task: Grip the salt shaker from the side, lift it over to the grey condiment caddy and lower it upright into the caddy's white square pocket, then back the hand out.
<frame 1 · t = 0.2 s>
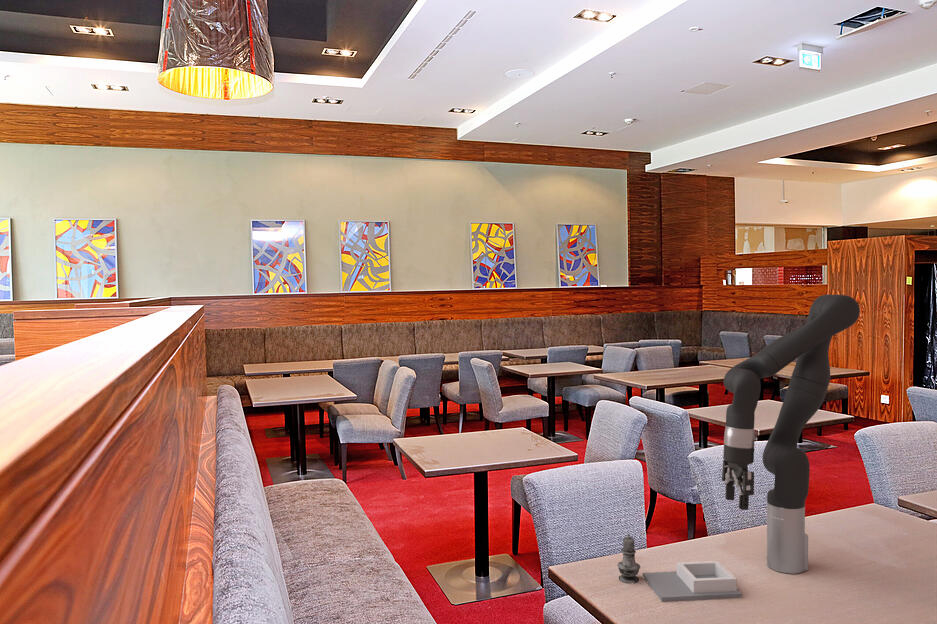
hand: (736, 504, 180), 18 cm above the table, tool pointing down, fingers open, 8 cm apart
caddy: (690, 586, 171), on the table
salt shaker: (628, 579, 176), on the table
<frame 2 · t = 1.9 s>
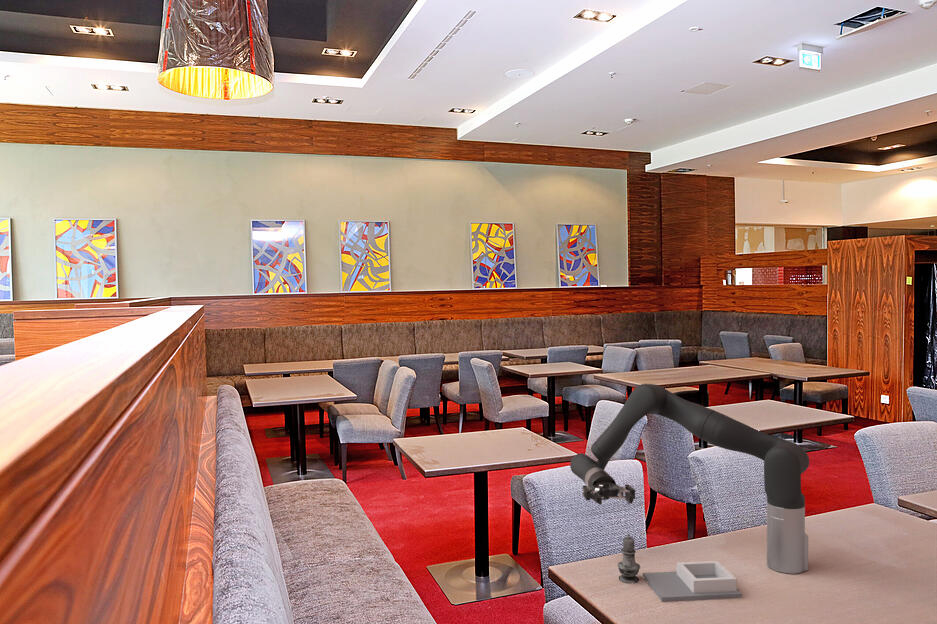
hand: (615, 500, 186), 17 cm above the table, tool horizontal, fingers open, 8 cm apart
nothing on the table moved.
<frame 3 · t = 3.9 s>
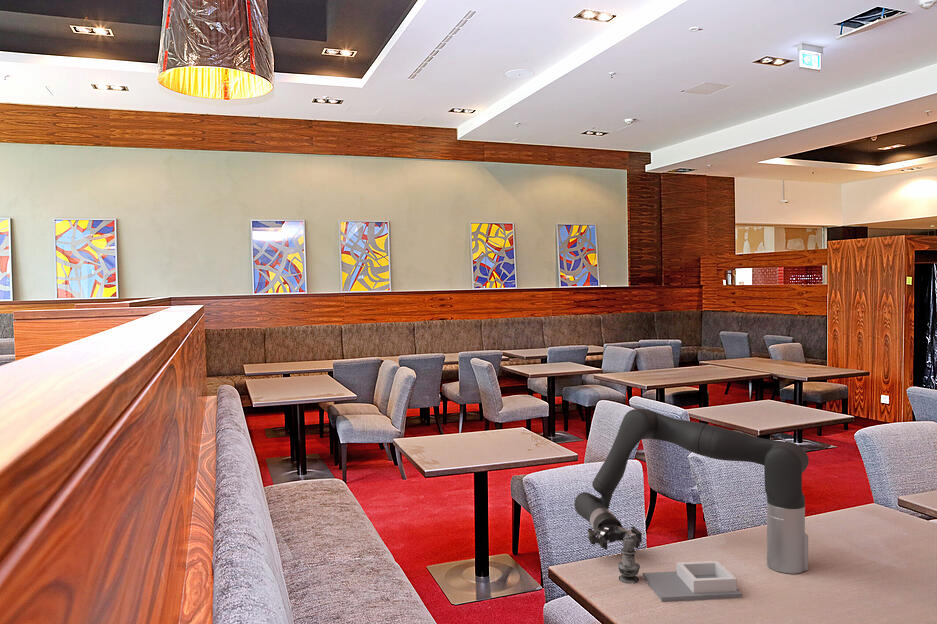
hand: (621, 545, 182), 6 cm above the table, tool horizontal, fingers open, 8 cm apart
nothing on the table moved.
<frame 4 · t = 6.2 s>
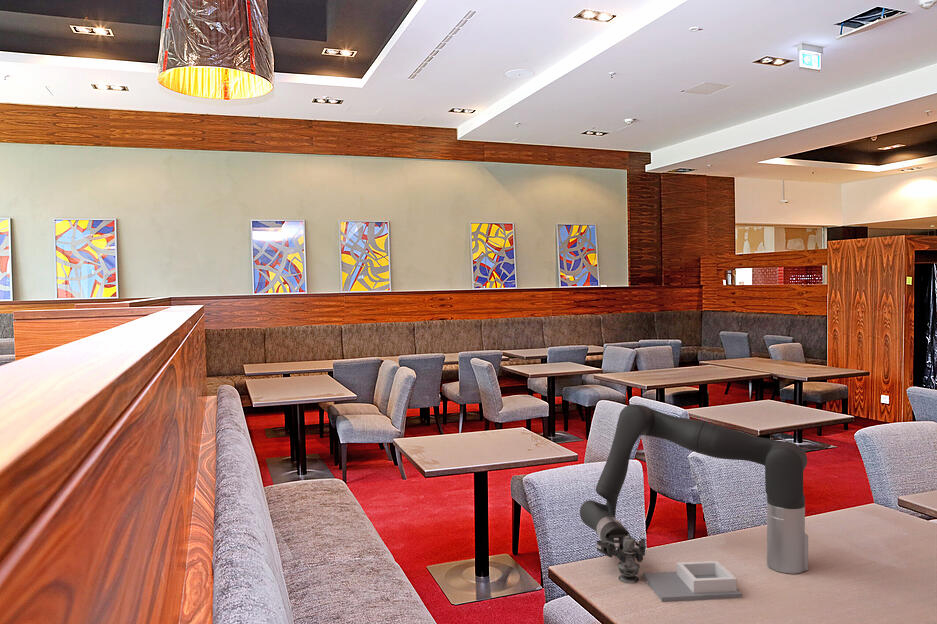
hand: (632, 558, 173), 7 cm above the table, tool horizontal, fingers closed on salt shaker, 3 cm apart
salt shaker: (628, 579, 176), on the table, touching gripper
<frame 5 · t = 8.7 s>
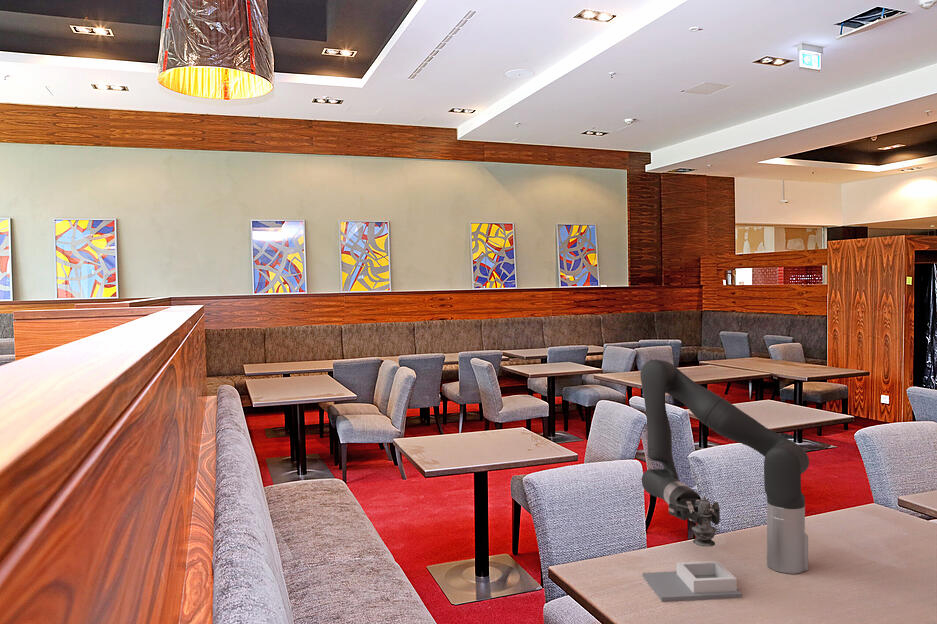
hand: (709, 521, 168), 18 cm above the table, tool horizontal, fingers closed on salt shaker, 3 cm apart
salt shaker: (704, 543, 171), point 11 cm above the table, touching gripper
when the fingers open (9 cm above the table, at t = 11.1 s): salt shaker drops 2 cm, resting on caddy.
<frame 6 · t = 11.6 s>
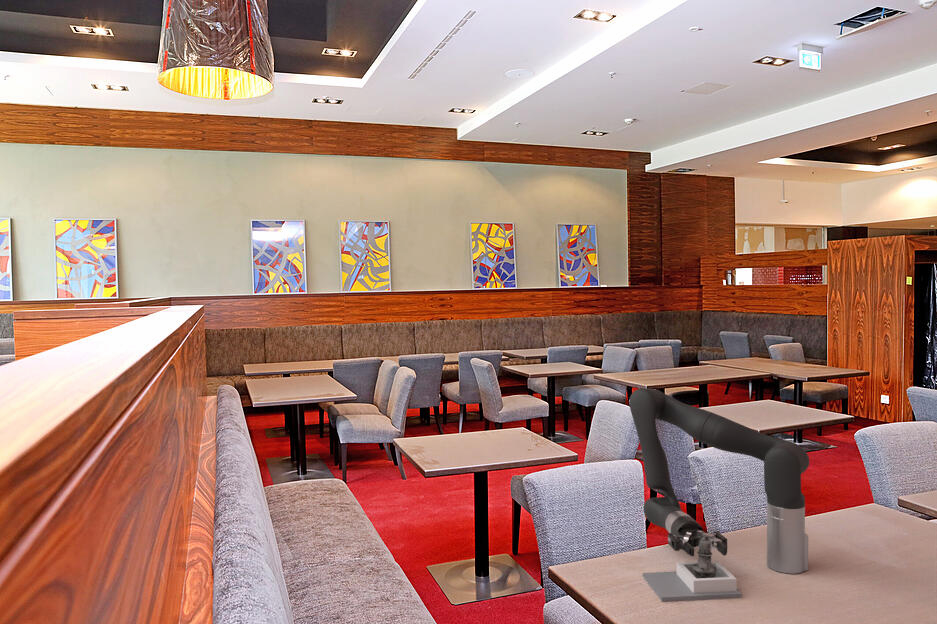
hand: (709, 552, 169), 10 cm above the table, tool horizontal, fingers open, 8 cm apart
salt shaker: (704, 582, 171), point 1 cm above the table, touching caddy
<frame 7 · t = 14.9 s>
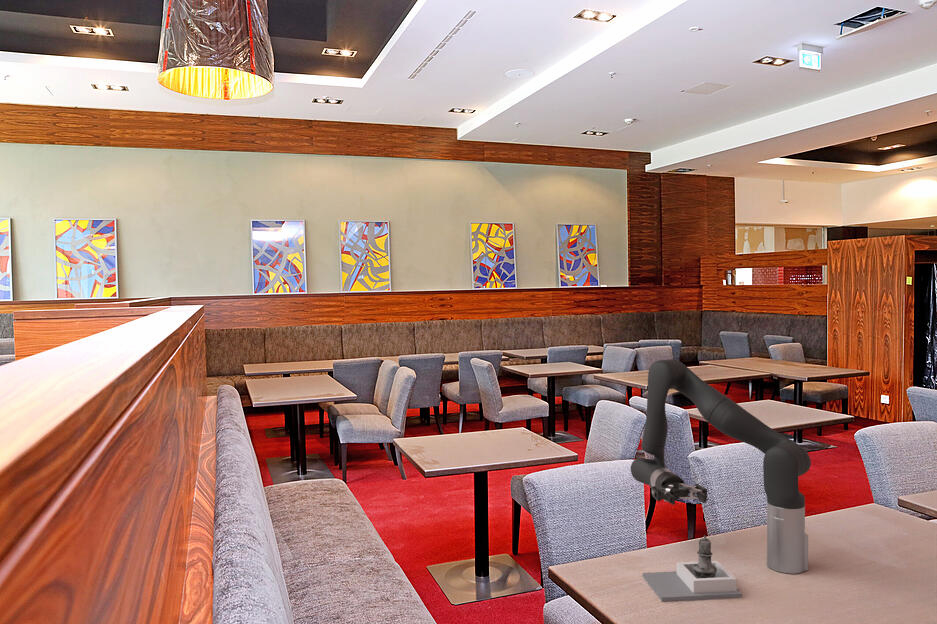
hand: (689, 500, 181), 19 cm above the table, tool horizontal, fingers open, 8 cm apart
nothing on the table moved.
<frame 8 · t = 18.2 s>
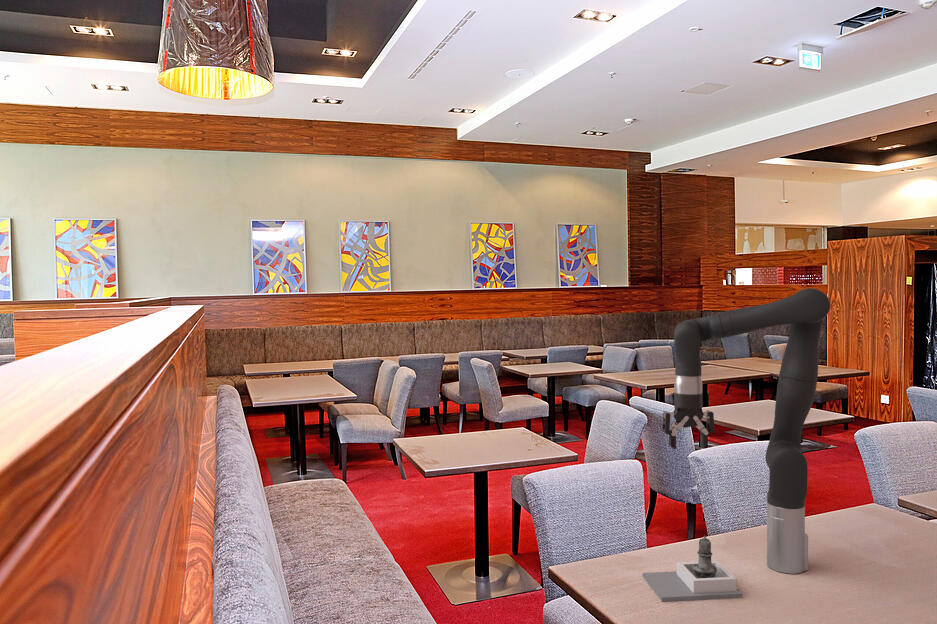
hand: (688, 448, 191), 30 cm above the table, tool pointing down, fingers open, 8 cm apart
nothing on the table moved.
at the end: salt shaker 0.3 cm from the target spot on the caddy, point 0.8 cm above the caddy's base; salt shaker tilted 0°; the gripper is holding nothing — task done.
